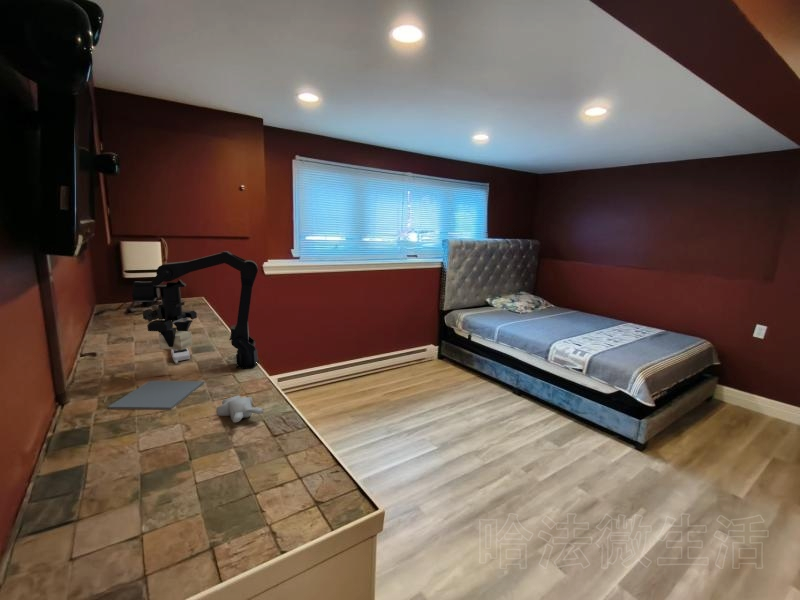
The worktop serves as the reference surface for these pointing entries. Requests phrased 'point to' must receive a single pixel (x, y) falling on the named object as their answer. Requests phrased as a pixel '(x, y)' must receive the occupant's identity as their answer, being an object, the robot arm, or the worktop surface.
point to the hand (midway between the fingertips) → (176, 344)
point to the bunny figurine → (237, 408)
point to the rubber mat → (157, 395)
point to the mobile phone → (180, 355)
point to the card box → (177, 341)
